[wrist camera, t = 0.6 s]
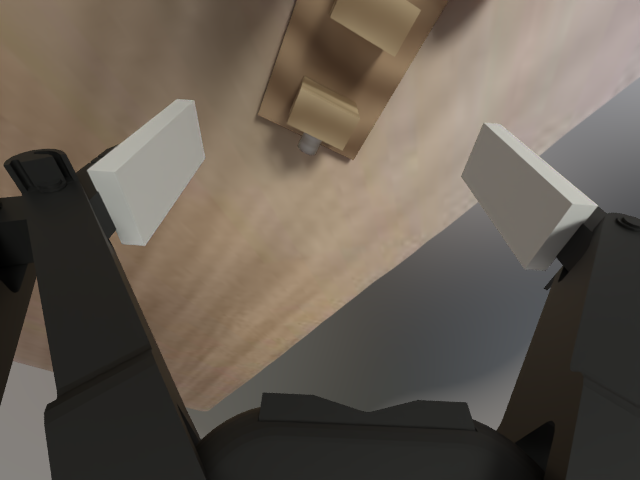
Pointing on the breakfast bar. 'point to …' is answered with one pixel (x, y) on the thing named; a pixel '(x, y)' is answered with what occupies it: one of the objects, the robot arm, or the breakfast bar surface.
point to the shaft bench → (343, 67)
